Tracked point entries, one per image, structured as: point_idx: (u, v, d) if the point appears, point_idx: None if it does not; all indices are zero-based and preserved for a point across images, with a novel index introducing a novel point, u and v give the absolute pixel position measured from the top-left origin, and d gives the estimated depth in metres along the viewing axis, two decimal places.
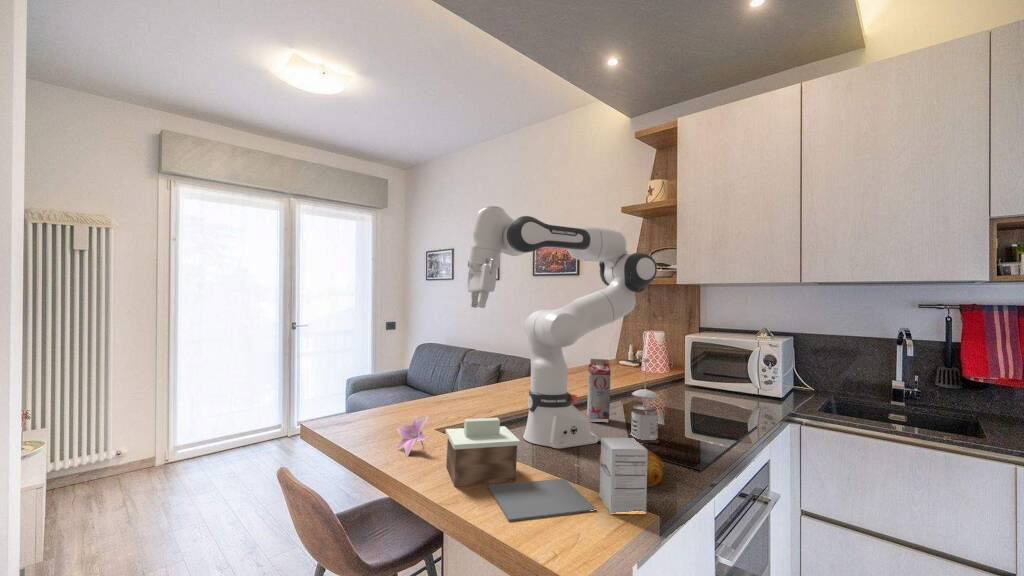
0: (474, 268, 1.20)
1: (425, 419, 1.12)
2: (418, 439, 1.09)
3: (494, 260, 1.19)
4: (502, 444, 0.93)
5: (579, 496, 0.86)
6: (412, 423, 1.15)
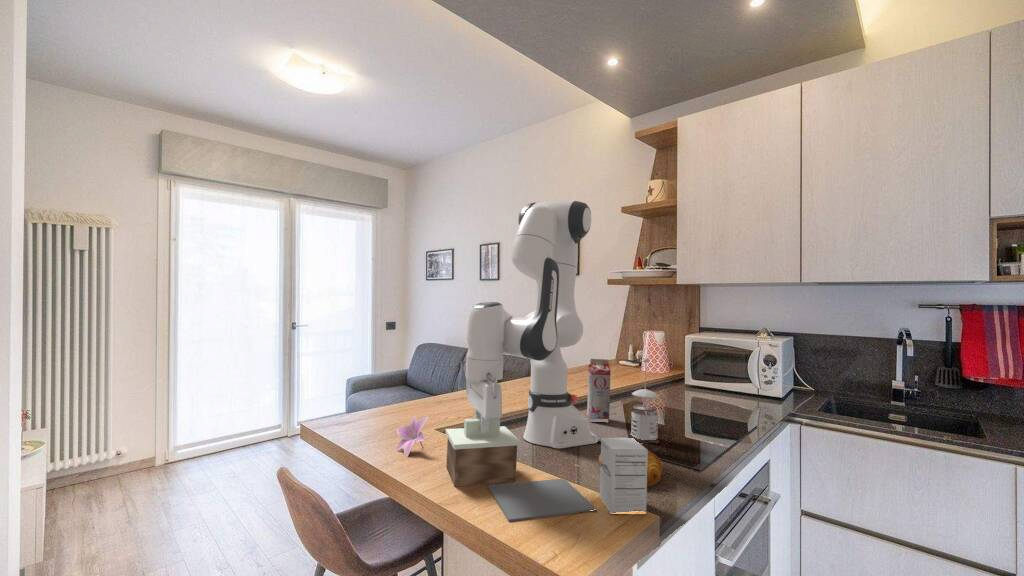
0: (473, 383, 0.96)
1: (425, 419, 1.11)
2: (417, 440, 1.09)
3: (497, 372, 0.95)
4: (502, 444, 0.93)
5: (579, 496, 0.86)
6: (411, 423, 1.14)
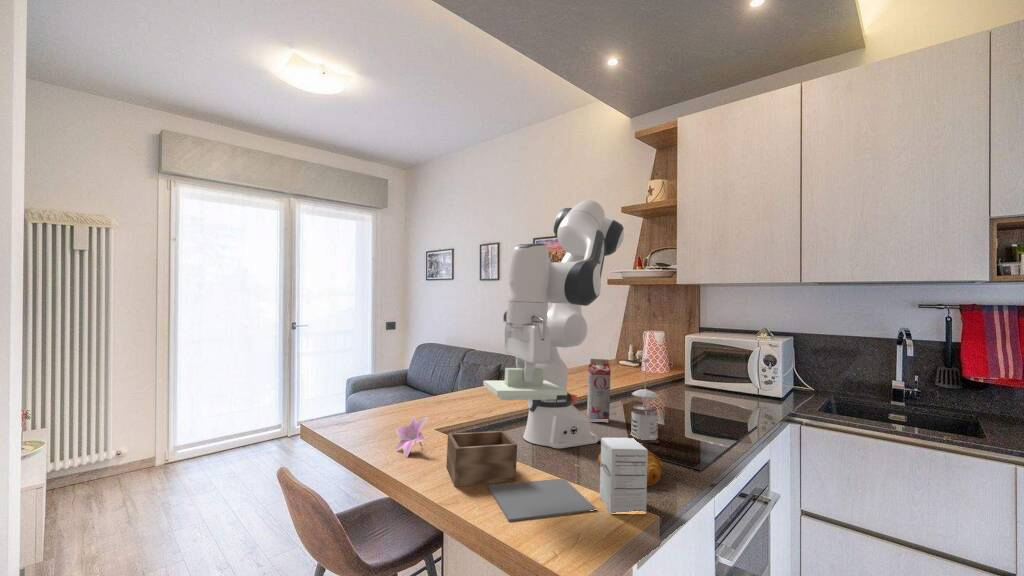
0: (516, 328, 0.89)
1: (424, 420, 1.11)
2: (417, 440, 1.09)
3: (542, 316, 0.88)
4: (548, 393, 0.85)
5: (579, 496, 0.86)
6: (410, 424, 1.14)
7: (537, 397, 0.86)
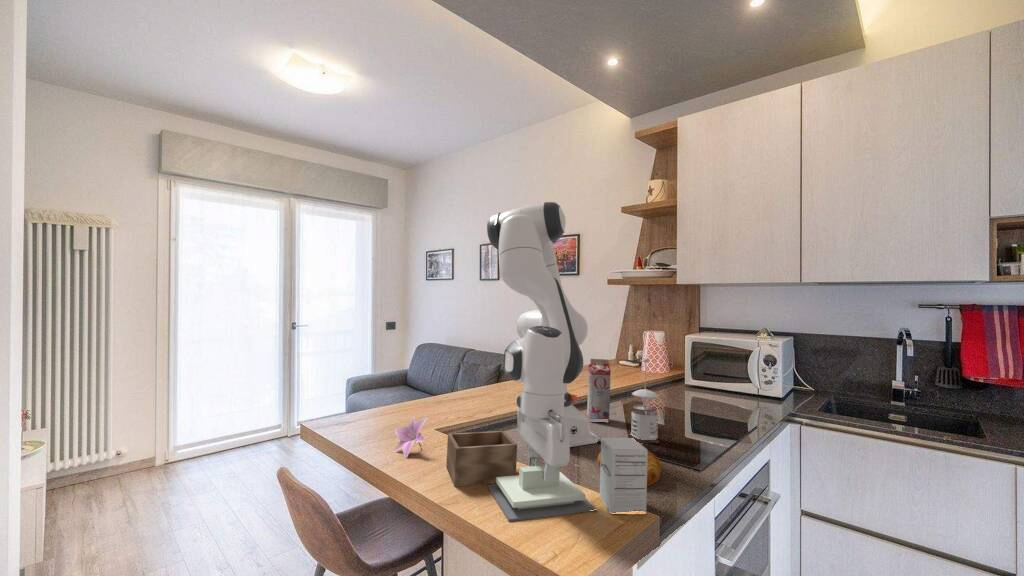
0: (531, 421, 0.84)
1: (424, 420, 1.11)
2: (417, 441, 1.08)
3: (559, 408, 0.84)
4: (566, 499, 0.81)
5: None
6: (409, 424, 1.13)
7: (554, 503, 0.82)
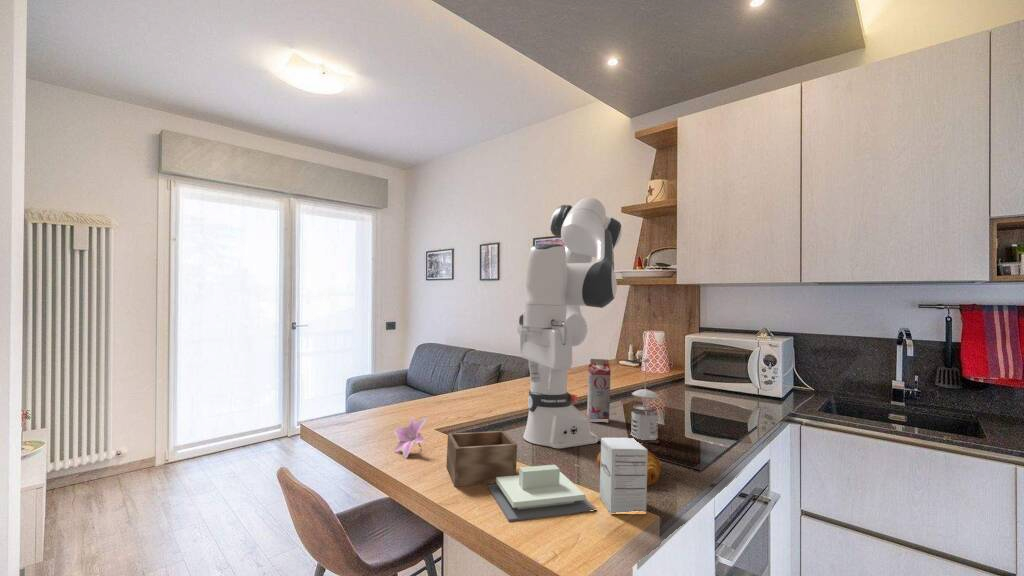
0: (534, 332, 0.85)
1: (423, 420, 1.10)
2: (416, 441, 1.08)
3: (561, 319, 0.85)
4: (566, 499, 0.81)
5: None
6: (409, 425, 1.13)
7: (554, 503, 0.82)
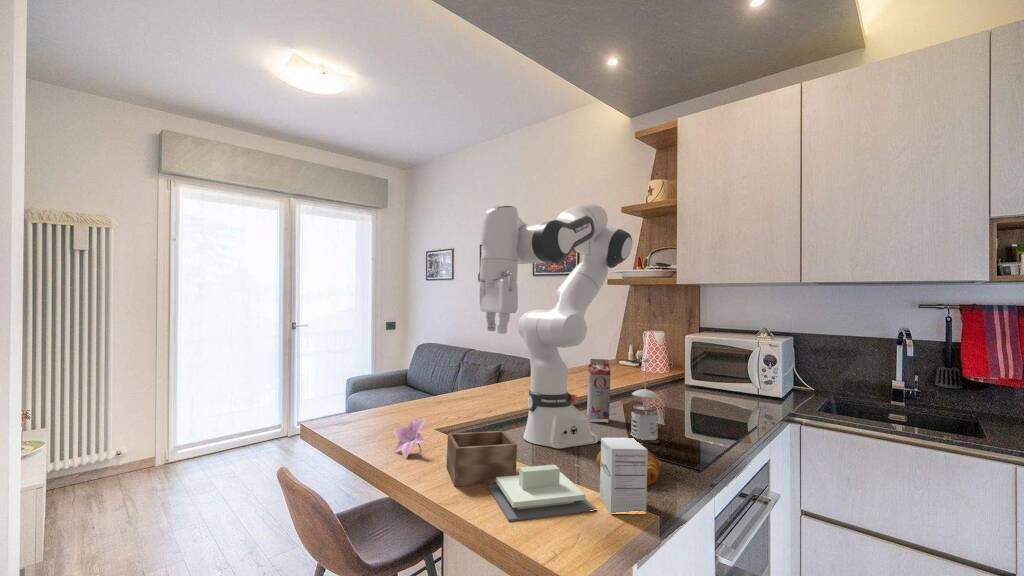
0: (487, 284, 0.96)
1: (423, 421, 1.10)
2: (416, 441, 1.07)
3: (512, 272, 0.95)
4: (566, 499, 0.81)
5: None
6: (408, 425, 1.13)
7: (554, 503, 0.82)
